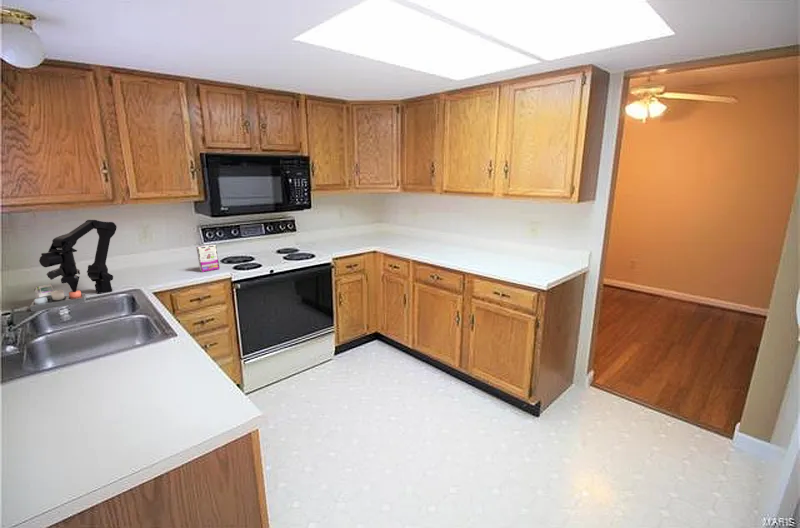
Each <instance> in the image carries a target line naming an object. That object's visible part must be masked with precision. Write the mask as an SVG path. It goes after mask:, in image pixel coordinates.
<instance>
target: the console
mask: <svg viewBox="0 0 800 528" xmlns="http://www.w3.org/2000/svg"><path fill="white" fill-rule="evenodd" d="M81 295H82V297H78V298H72V299H70V296H69V294H68V295H64V296H65V298H64V299H61V300H53V299H52V297H51V298H47V300H48V303H41V304H35V302H34V300H32V303H31V304H30V306H29V309H30V311H31V312H36V311H43V310H49V309H53V308H60V307H67V306H71V305H72V306H73V305H79V304H84V303H86V299H87V296H86V292H81Z"/></svg>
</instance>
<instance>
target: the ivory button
mask: <svg viewBox="0 0 800 528" xmlns="http://www.w3.org/2000/svg"><path fill="white" fill-rule="evenodd" d="M51 296H52V297H51V298H52V299H53V300H61V299H64V298H65V296H66V295H65V293H64V290H63V289H55V290H53V291H52V292H51Z"/></svg>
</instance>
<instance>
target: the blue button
mask: <svg viewBox="0 0 800 528" xmlns="http://www.w3.org/2000/svg"><path fill="white" fill-rule="evenodd" d="M47 299H48V298H47V297H40V298H36V297H35V299H33V301H34V302H35V304H41V303H48V300H47Z"/></svg>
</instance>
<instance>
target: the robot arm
mask: <svg viewBox="0 0 800 528" xmlns="http://www.w3.org/2000/svg"><path fill="white" fill-rule="evenodd" d="M117 228H118V227H117V224H116V223H115V222H113V221H103V220H102V221H100V220H97V219H86V220H85V221H84V222H83V223H81V224H79V226H77V227H75V228H74V229H72V230H71V231H70V232H68V233H65V234H62V235H58V236H56V237H54V238H53V239H52V240H51V241H52V243H51V245H50V246H49V249H48V252H42V253H41V255H40V257H39V260H38V261H39V264H40V265H41V266H42V267H43V268H50V267H54V266H58V265H59V267H58V268H56V269H55V268H54V269H51V270H50V271H48V272H47V273H46V276H47V278H48V279H50V280H54V279H55V278H57V277H60V276H61V278H60V283H61V284H68V286H69V287H70V289H71V291H73V292H76V291H77V290H78V285H79V282H80V276H79V275H81V270H80V269H78V268H77V263H76V261H75V256H74V253H75V252H77V251H78V249H75V248H73V247H74V246H75V245H76V244H77V243H78V240H79V239H81V238H82V237H84V236H85V235H87V234H88V233H90V232H91V231H92V230H94V229H95V230H96V233H97V235H98V241H97V246H96V251H95V254H94V255H95V256H94V261H93V263H92V264H88V265H87V270H86V273H87V277H88V278H89V279H90V280H91V282H95V283H94V289H95V292H96V293H97V295H98V294H104V293H110V292H113V287H112V283H111V281H113V280H114V275H113V274H111V273H109V272H108V271H109V269H108V266H107V257H108V253H109V246H110V243H111V239H112V237H113V236H114V235H115V233H116V232H117Z"/></svg>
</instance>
